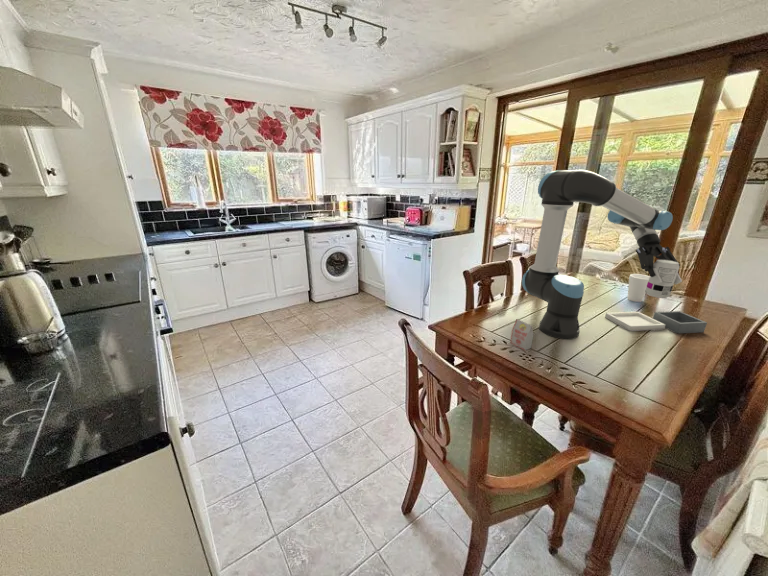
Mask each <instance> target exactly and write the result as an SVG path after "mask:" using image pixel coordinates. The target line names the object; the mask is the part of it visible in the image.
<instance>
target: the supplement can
mask: <svg viewBox="0 0 768 576" xmlns="http://www.w3.org/2000/svg"><path fill="white" fill-rule="evenodd" d="M679 264H680V263H679V262H675V261H670V260H660V259H656V261H654V262H653V268H656V270H657V272H658V274H659V276H660V278H661V280H662V282H661V283H659V284H657V285H655V283H654V281H653V279H652V277H651V276H650V275H649V276H650V277H649V280H648V284H647V287H646V290H645V292H646V294H645V295H647V296H650V297H653V298H658V299H667V298H669V297H670V296H671V293H672V291H673V289H674V288H673V287H674V285H675V284H674V282H675V279H676V276H677V273H678V272H679V270H680V266H679Z"/></svg>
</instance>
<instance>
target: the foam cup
mask: <svg viewBox="0 0 768 576" xmlns="http://www.w3.org/2000/svg"><path fill="white" fill-rule="evenodd" d="M649 277H650V275H645V274H641V273H630V275H629V278H628V288H627V289H628V290H627V298H626V299H627V300H628V301H631V302H635V303H641V302H643V300H644V298H645V295H647V294H646V292H645V290H646V287H647V284H648V280H649Z"/></svg>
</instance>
